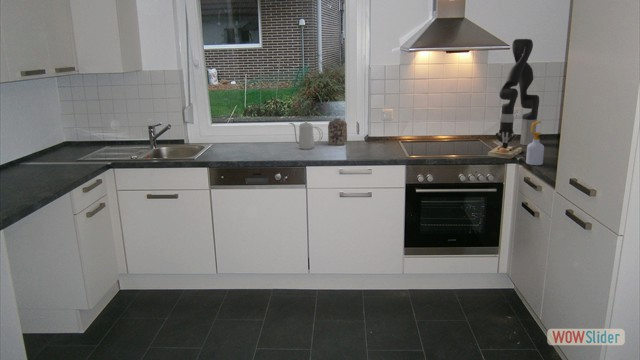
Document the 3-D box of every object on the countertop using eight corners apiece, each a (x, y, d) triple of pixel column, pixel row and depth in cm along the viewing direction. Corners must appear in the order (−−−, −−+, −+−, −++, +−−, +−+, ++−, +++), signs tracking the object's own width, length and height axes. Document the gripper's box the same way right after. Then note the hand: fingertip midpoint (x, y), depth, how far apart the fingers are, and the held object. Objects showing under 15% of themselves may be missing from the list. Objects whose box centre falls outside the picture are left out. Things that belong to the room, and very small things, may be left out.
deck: (499, 149, 340) (500, 143, 339) (522, 151, 332) (522, 145, 331) (487, 156, 322) (488, 150, 321) (510, 158, 314) (511, 152, 313)
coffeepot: (292, 145, 370) (291, 119, 365) (325, 147, 361) (325, 120, 356) (286, 148, 360) (285, 121, 355) (319, 150, 351) (319, 122, 346)
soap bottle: (544, 165, 295) (548, 122, 289) (527, 165, 297) (530, 122, 291) (541, 161, 304) (544, 120, 297) (524, 161, 306) (527, 119, 299)
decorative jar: (347, 142, 376) (347, 117, 372) (344, 145, 365) (344, 120, 361) (331, 142, 379) (330, 117, 374) (327, 145, 368) (327, 119, 363)
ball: (496, 150, 320) (497, 157, 322) (504, 150, 317) (505, 157, 319) (499, 145, 323) (499, 152, 325) (507, 146, 320) (507, 153, 322)
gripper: (519, 120, 320) (517, 148, 324) (498, 119, 327) (496, 146, 332) (516, 122, 314) (514, 150, 319) (494, 121, 322) (492, 148, 326)
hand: (505, 148), depth 325 cm, fingers closed
